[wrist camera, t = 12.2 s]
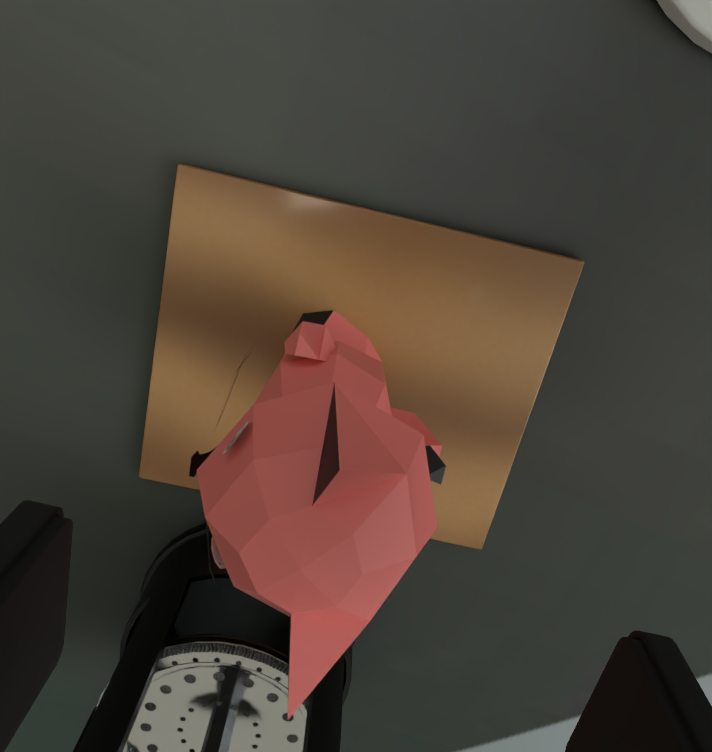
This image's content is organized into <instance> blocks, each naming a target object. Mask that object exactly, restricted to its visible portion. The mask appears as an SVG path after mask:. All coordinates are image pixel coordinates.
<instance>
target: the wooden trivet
mask: <svg viewBox="0 0 712 752" xmlns="http://www.w3.org/2000/svg"><path fill="white" fill-rule="evenodd" d="M583 266H584V261H582V260H581V259H578V258H574V257H569V256H565V255H561V254H557V253H553V252H549V251H544V250H540V249H536V248H532V247H528V246H524V245H519V244H515V243H511V242H507V241H503V240H499V239H494V238H490V237H486V236H482V235H478V234H474V233H470V232H465V231H461V230H457V229H453V228H449V227H445V226H440V225H436V224H432V223H428V222H424V221H420V220H415V219H411V218H407V217H403V216H399V215H395V214H391V213H386V212H382V211H378V210H374V209H370V208H366V207H361V206H357V205H353V204H349V203H345V202H341V201H336V200H332V199H328V198H324V197H320V196H316V195H311V194H307V193H303V192H299V191H295V190H291V189H287V188H282V187H278V186H274V185H270V184H266V183H262V182H257V181H253V180H249V179H245V178H241V177H237V176H232V175H228V174H224V173H220V172H216V171H212V170H207V169H203V168H199V167H195V166H191V165H187V164H178V165H177V173H176V181H175V189H174V197H173V205H172V213H171V221H170V229H169V237H168V245H167V253H166V261H165V269H164V277H163V285H162V293H161V301H160V309H159V317H158V325H157V333H156V341H155V349H154V357H153V365H152V373H151V381H150V389H149V397H148V405H147V413H146V421H145V429H144V437H143V445H142V453H141V461H140V469H139V478H144V479H149V480H153V481H158V482H163V483H168V484H172V485H177V486H182V487H187V488H191V489H196V490H200V487H199V481H198V476H197V473H196V475H195V477H190V476H189V472H190V463H191V457H192V456H193V455H194V453H195V452H196V451H198V452H199V454H204V453H207V452H210V451H211V450H213V449H214V448H216V447H217V446H218V445H219V444H220V443H221V441H222V440H223V439H224V438H225V437H226V436H227V434H228V433H229V432H230V431H231V430H232V429H233V428H234V426H235V425H236V424H237V423H238V422H239V421H240V419H241V418H242V417H243V416H244V415H245V414H246V413H247V411H248V410H249V409H250V408H251V407H252V406H253V404H254V403H255V402H256V400H257V399H258V397H259V395H260V394H261V392H262V390H263V389H264V387H265V386H266V384H267V382H268V381H269V379H270V377H271V376H272V374H273V372H274V371H275V369H276V368H277V366H278V364H279V363H280V361H281V359H282V358H283V356H284V355H285V345H284V342H285V341H286V340H287V339H288V337H289V336H290V335H291V334H292V332H293V330H294V328H295V327H296V325H297V323H298V321H299V319H300V318H301V316H302V314H303V313H311V312H321V311H330V310H334V311H336V312H337V313H338V314H339V315H341V316H342V317H343V318H344V319H346V320H347V321H348V322H349V323H351V324H352V325H353V326H354V327H356V328H357V329H358V330H359V331H361V332H362V333H363V334H364V335H366V336H367V337H368V338H369V340H370V342H371V343H372V345H373V347H374V348H375V350H376V352H377V354H378V355H379V357H380V359H381V360H382V365H383V370H384V375H385V381H386V386H387V391H388V397H389V402H390V407H391V408H396V409H400V410H404V411H408V412H412V413H415V414H416V415H417V417H418V418H419V419H420V420H421V421H422V422H423V424H424V425H425V426H426V427H427V428H428V430H429V431H430V432H431V433H432V434H433V435H434V437H435V438H436V439H437V440H438V441H439V443H440V444H441V445H442V449H441V452H440V456H439V457H440V459H441V460H442V461H443V462H444V464H445V465H446V468H445V472H444V476H443V479H442V483H441V485H440V484H438V483H436V482H433V481H431V480H430V481H431V488H432V495H433V501H434V508H435V515H436V521H437V529H436V530H435V532H434V533H433V534H432V536H431V537H430V539H433V540H438V541H443V542H448V543H452V544H457V545H462V546H467V547H471V548H476V549H482V547H483V544H484V542H485V539H486V536H487V533H488V530H489V528H490V525H491V522H492V519H493V517H494V514H495V511H496V508H497V505H498V503H499V500H500V497H501V494H502V491H503V489H504V486H505V483H506V480H507V478H508V475H509V472H510V469H511V466H512V464H513V461H514V458H515V455H516V452H517V450H518V447H519V444H520V441H521V439H522V436H523V433H524V430H525V427H526V425H527V422H528V419H529V416H530V413H531V411H532V408H533V405H534V402H535V400H536V397H537V394H538V391H539V388H540V386H541V383H542V380H543V377H544V375H545V372H546V369H547V366H548V363H549V361H550V358H551V355H552V352H553V349H554V347H555V344H556V341H557V338H558V336H559V333H560V330H561V327H562V324H563V322H564V319H565V316H566V313H567V310H568V308H569V305H570V302H571V299H572V297H573V294H574V291H575V288H576V285H577V283H578V280H579V277H580V274H581V271H582V269H583ZM255 342H256V343H255ZM251 347H252V348H251ZM248 351H249V352H248ZM250 353H251V354H250ZM249 354H250V355H249ZM245 355H246V356H245ZM244 356H245V357H244ZM243 358H244V360H245V359H246V358H247V359H246V360H245V361H244V360H243ZM242 361H244V362H242ZM241 363H243V364H242V365H241ZM240 365H241V367H239V366H240ZM238 367H239V368H240V370H239V369H238ZM237 369H238V370H237ZM236 370H237V371H236ZM238 371H239V372H238ZM235 372H236V373H235ZM237 373H238V375H237ZM234 375H235V376H234ZM236 376H237V377H236ZM235 378H236V380H235ZM234 381H235V382H234ZM231 383H232V384H231ZM233 384H234V385H233ZM230 386H231V387H230ZM232 386H233V388H232ZM231 389H232V390H231ZM230 391H231V393H230ZM227 394H228V395H227ZM229 394H230V395H229ZM228 396H229V398H228ZM226 397H227V398H226ZM227 399H228V400H227ZM226 401H227V403H226ZM225 404H226V405H225ZM223 405H224V406H225V408H224V406H223ZM222 408H223V409H224V410H223V409H222ZM222 411H223V413H222ZM221 414H222V415H221ZM219 416H221V418H220V417H219ZM218 419H220V420H218ZM218 422H219V423H218ZM217 424H218V425H217ZM215 427H216V428H215ZM214 430H215V431H214Z"/></svg>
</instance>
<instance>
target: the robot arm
mask: <svg viewBox="0 0 712 752" xmlns="http://www.w3.org/2000/svg"><path fill="white" fill-rule="evenodd" d="M657 2H658V3H659V5H660V6H661V8H662V10H663V11H664V13H665V14H666V16H667V17H668V18H669V19H670V20H671V21H672V22H673V23H674V24H675V25H676V26H677V27H678V28H679V29H680V30H681V31H682V32H683V33H684V34H685V35H686V36H687V37H688V38H689V39H690V40H692V41H693V42H694V43H695V44H697V45H698V46H700V47H702V48H703V49H705V50H706V51H708V52H710V53H711V54H712V0H657ZM72 529H73V522H72V520H71V519H68V518H64V512H63V510H62V508H60V507H57V506H52V505H47V504H42V503H38V502H33V501H28V500H26V501H23V502H22V503H21V504H19V505H18V506H17V507H16V509H15V510H14V511H13V512H12V513H11V514H10V515H9V516H8V517H7V518H6V519H5V520H4V521H3V522H2V523H1V524H0V752H4V751H5V749H6V747H7V746H8V744H9V743H10V741H11V739H12V738H13V736H14V734H15V733H16V731H17V729H18V728H19V726H20V724H21V723H22V721H23V719H24V718H25V716H26V714H27V713H28V711H29V709H30V708H31V706H32V704H33V703H34V701H35V699H36V698H37V696H38V694H39V693H40V691H41V689H42V688H43V686H44V684H45V683H46V681H47V680H48V678H49V676H50V675H51V673H52V671H53V670H54V668H55V666H56V664H57V662H58V660H59V658H60V655H61V652H62V649H63V644H64V634H65V621H66V608H67V595H68V582H69V569H70V555H71V542H72ZM565 752H712V706H711V705H710V703H709V701H708V699H707V698H706V696H705V694H704V692H703V690H702V689H701V687H700V685H699V683H698V682H697V680H696V678H695V676H694V675H693V673H692V671H691V669H690V668H689V666H688V664H687V662H686V660H685V659H684V657H683V655H682V653H681V652H680V650H679V648H678V646H677V645H676V643H675V642H674V641H673V640H672V639H671V638H669V637H666V636H661V635H656V634H652V633H647V632H642V631H633V632H632V633H630V635H629V636H628V637H622V638H621V639H620V640H619V641H618V643H617V645H616V647H615V649H614V651H613V653H612V655H611V657H610V659H609V661H608V663H607V665H606V667H605V669H604V671H603V673H602V675H601V677H600V679H599V681H598V683H597V685H596V687H595V689H594V691H593V693H592V695H591V697H590V699H589V701H588V703H587V705H586V707H585V709H584V711H583V713H582V715H581V717H580V719H579V721H578V723H577V725H576V728H575V729H574V731H573V733H572V735H571V737H570V740H569V741H568V743H567V746H566V750H565Z"/></svg>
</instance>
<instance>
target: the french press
mask: <svg viewBox="0 0 712 752" xmlns="http://www.w3.org/2000/svg"><path fill="white" fill-rule="evenodd" d="M212 536H213V535H212V533H211V531H210V528H209V526H208V537H209V554H210V568H211V571H212V574H213V577H214V578H230V576H229V574H228V572H227V569H226V568H224V569H220V568H219V567H218V565H217V564H216V563H215V561H214V557H213V554H212V550H211V538H212ZM211 578H212V575H211V573H210V570H209V559H208V542H207V525H206V524H204V525H201V526H198V527H196V528H193V529H190V530H188V531H187V532H185V533H184V534H182V535H180V536H179V537H177V538H176V539H174V540H173V541H171V542H170V543H169V544H168V545H167V546H166V547H165V548H164V549H163V550H162V551H161V552H160V553H159V554H158V555H157V557H156V559H155V560H154V562H153V563H152V565H151V566H150V568H149V570H148V572H147V574H146V576H145V579H144V582H143V585H142V588H141V595H140V600H139V601H138V603H137V605H136V607H135V609H134V611H133V613H132V615H131V617H130V619H129V621H128V623H127V625H126V628H125V631H124V634H123V637H122V640H121V646H120V661H119V663H118V665H117V667H116V669H115V671H114V673H113V675H112V678H111V680H110V681H109V683H108V684H107V686H106V688H105V689H104V691H103V692H102V694H101V695H100V698H99V701H98V704H97V706H96V707H95V708H94V710H93V712H92V713H91V715H90V717H89V719H88V721H87V723H86V725H85V727H84V729H83V732H82V734H81V736H80V738H79V740H78V742H77V744H76V746H75V748H74V750H73V752H340V750H341V745H340V739H341V720H342V705H343V703H344V701H345V699H346V697H347V695H348V690H349V686H350V681H351V671H352V646H353V644H354V642H355V640H354V641H353V642H352V644H351V645H350V646H349V647H348V648H347V650H346V651H345V652H344V653H343V654H342V656H341V657H340V658H339V659H338V660H337V662H336V663H335V664H334V665H333V666H332V668H331V669H330V670H329V671H328V672H327V674H326V675H325V676H324V677H323V678H322V680H321V681H320V682H319V683H318V684H317V686H316V687H315V688H314V689H313V691H312V692H311V693H310V694H309V695H308V697H307V698H306V699H305V700H304V701H303V703H302V704H301V705H300V706H299V707H298V709H297V710H296V711H295V712H294V713H293V715H292V716H291V717H290V718H289V719H288V676H289V656H288V655H286V654H284V653H282V652H280V651H278V650H275V649H273V648H271V647H269V646H267V645H263V644H260V643H257V642H254V641H251V640H248V639H244V638H237V637H231V636H225V635H204V634H198V635H188V636H180V637H179V636H178V634H177V633H176V630H175V628H174V624H175V621H176V619H177V616H178V614H179V611H180V609H181V607H182V604H183V602H184V599H185V597H186V594H187V592H188V589H189V587H190V584H191V582H194V581H199V580H205V579H211Z"/></svg>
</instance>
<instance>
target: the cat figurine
mask: <svg viewBox="0 0 712 752" xmlns="http://www.w3.org/2000/svg"><path fill="white" fill-rule="evenodd" d="M255 343H256V342H255ZM284 345H285V355H284V356H283V358H282V359H281V361H280V363H279V364H278V366H277V368H276V369H275V371H274V372H273V374H272V376H271V377H270V379H269V381H268V382H267V384H266V386H265V387H264V389H263V390H262V392H261V394H260V395H259V397H258V399H257V400H256V402H255V403H254V404H253V406H252V407H251V408H250V409H249V410H248V411H247V413H246V414H245V415H244V416H243V417H242V418H241V419H240V421H239V422H238V423H237V424H236V425H235V426H234V428H233V429H232V430H231V431H230V432H229V433H228V434H227V436H226V437H225V438H224V439H223V440H222V441H221V443H220V444H219V445H218V446H217V447H216V448H214V449H213V450H211V451H210V452H207V453H204V454H199V452H198V451H196V452H195V453H194V455H193V456H192V457H191V463H190V472H189V476H190V477H195V475H196V473H197V476H198V481H199V487H200V492H201V498H202V504H203V509H204V515H205V519H206V525H207V542H208V559H209V570H210V573H211V575H212V578H213V580H214V577H213V574H212V571H211V568H210V554H209V537H208V526H209V528H210V531H211V533H212V535H213V536H212V538H211V550H212V554H213V557H214V561H215V563H216V564H217V565H218V567H219V568H220V569H224V568H226V569H227V572H228V574H229V576H230V579H231V581H232V584H233V586H234V587H236V588H237V589H239V590H241V591H243V592H245V593H247V594H248V595H250V596H252V597H254V598H256V599H258V600H260V601H261V602H263V603H265V604H267V605H269V606H271V607H272V608H274V609H276V610H278V611H280V612H282V613H283V614H285V615H287V616H289V617H290V620H289V676H288V719H289V718H290V717H291V716H292V715H293V713H294V712H295V711H296V710H297V709H298V707H299V706H300V705H301V704H302V703H303V701H304V700H305V699H306V698H307V697H308V695H309V694H310V693H311V692H312V691H313V689H314V688H315V687H316V686H317V684H318V683H319V682H320V681H321V680H322V678H323V677H324V676H325V675H326V674H327V672H328V671H329V670H330V669H331V668H332V666H333V665H334V664H335V663H336V662H337V660H338V659H339V658H340V657H341V656H342V654H343V653H344V652H345V651H346V650H347V648H348V647H349V646H350V645H351V644H352V642H353V641H354V640H355V639H356V637H357V636H358V635H359V634H360V633H361V631H362V630H363V629H364V628H365V627H366V625H367V624H368V623H369V622H370V621H371V619H372V618H373V616H374V615H375V614H376V612H377V611H378V609H379V608H380V607H381V605H382V604H383V602H384V601H385V600H386V598H387V597H388V595H389V594H390V593H391V591H392V590H393V588H394V587H395V586H396V584H397V583H398V581H399V580H400V579H401V577H402V576H403V574H404V573H405V572H406V570H407V569H408V567H409V566H410V565H411V563H412V562H413V561H414V559H415V558H416V556H417V555H418V554H419V552H420V551H421V549H422V548H423V547H424V545H425V544H426V543H427V541H428V540H429V539H430V537H431V536H432V534H433V533H434V532H435V530H436V529H437V521H436V515H435V508H434V501H433V495H432V488H431V481H433V482H436V483H438V484H440V485H441V483H442V479H443V476H444V472H445V468H446V465H445V464H444V462H443V461H442V460H441V459H440V457H439V456H440V452H441V449H442V445H441V444H440V443H439V441H438V440H437V439H436V438H435V437H434V435H433V434H432V433H431V432H430V431H429V430H428V428H427V427H426V426H425V425H424V424H423V422H422V421H421V420H420V419H419V418H418V417H417V415H416V414H415V413H412V412H408V411H404V410H400V409H396V408H391V407H390V402H389V397H388V391H387V386H386V381H385V375H384V370H383V365H382V360H381V359H380V357H379V355H378V354H377V352H376V350H375V348H374V347H373V345H372V343H371V342H370V340H369V338H368V337H367V336H366V335H364V334H363V333H362V332H361V331H359V330H358V329H357V328H356V327H354V326H353V325H352V324H351V323H349V322H348V321H347V320H346V319H344V318H343V317H342V316H341V315H339V314H338V313H337V312H336V311H334V310H330V311H321V312H311V313H303V314H302V316H301V318H300V319H299V321H298V323H297V325H296V327H295V328H294V330H293V332H292V334H291V335H290V336H289V337H288V339H287V340H286V341H285V342H284ZM251 348H252V347H251ZM248 352H249V351H248ZM250 354H251V353H250ZM250 354H249V355H250ZM245 356H246V355H245ZM245 356H244V357H245ZM246 359H247V358H246ZM246 359H245V360H246ZM243 360H244V358H243ZM245 360H244V361H245ZM244 361H242V362H244ZM242 364H243V363H241V365H242ZM241 365H240V366H239V367H241ZM239 367H238V369H239V370H240V368H239ZM238 369H237V370H238ZM237 370H236V371H237ZM238 372H239V371H238ZM235 373H236V372H235ZM237 375H238V373H237ZM234 376H235V375H234ZM236 377H237V376H236ZM235 380H236V378H235ZM234 382H235V381H234ZM231 384H232V383H231ZM233 385H234V384H233ZM230 387H231V386H230ZM232 388H233V386H232ZM231 390H232V389H231ZM230 393H231V391H230ZM227 395H228V394H227ZM229 395H230V394H229ZM226 398H227V397H226ZM228 398H229V396H228ZM227 400H228V399H227ZM226 403H227V401H226ZM225 405H226V404H225ZM223 406H224V405H223ZM224 408H225V406H224ZM222 409H223V408H222ZM223 410H224V409H223ZM222 413H223V411H222ZM221 415H222V414H221ZM219 417H220V418H221V416H219ZM218 420H220V419H218ZM218 423H219V422H218ZM217 425H218V424H217ZM215 428H216V427H215ZM214 431H215V430H214ZM430 480H431V481H430ZM214 583H215V580H214ZM215 585H216V583H215ZM216 588H217V586H216ZM217 590H218V589H217ZM218 593H219V592H218Z"/></svg>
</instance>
